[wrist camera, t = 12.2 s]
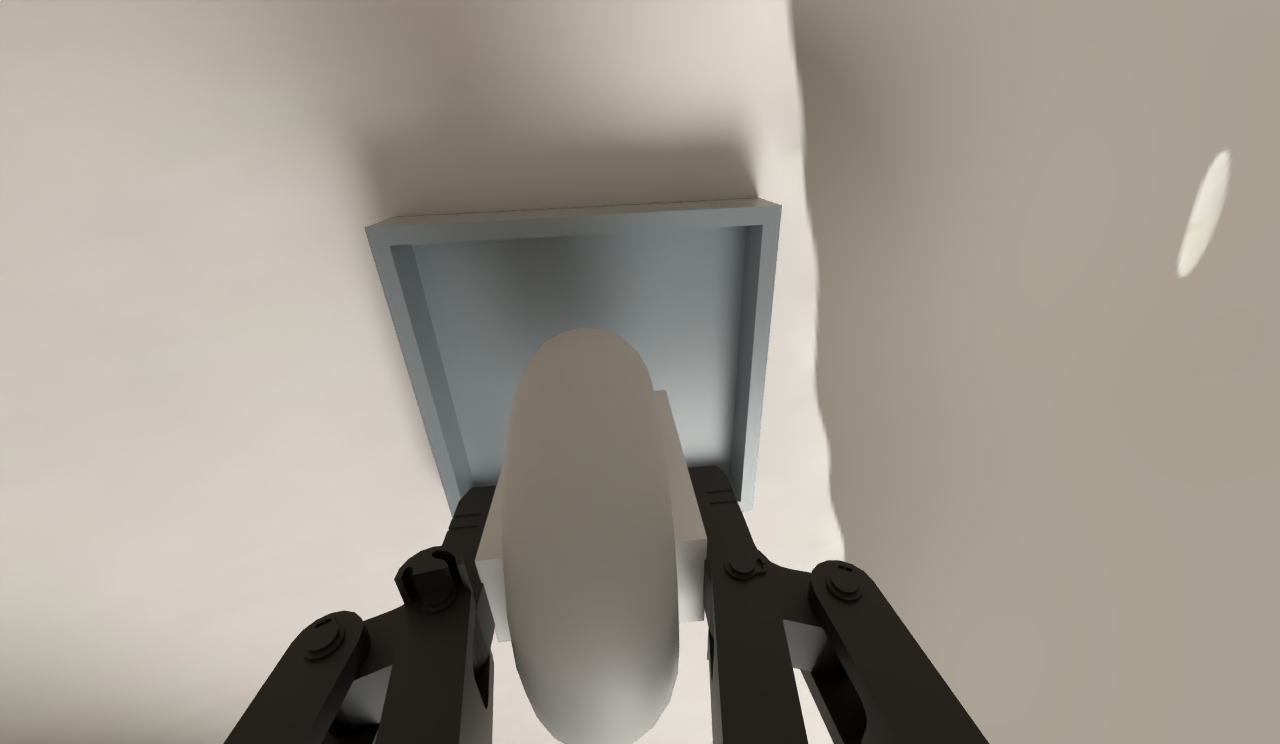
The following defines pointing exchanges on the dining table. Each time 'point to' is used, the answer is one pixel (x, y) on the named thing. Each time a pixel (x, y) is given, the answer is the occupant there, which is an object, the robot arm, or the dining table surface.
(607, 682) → the donut
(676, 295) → the tray
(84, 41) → the dining table surface
